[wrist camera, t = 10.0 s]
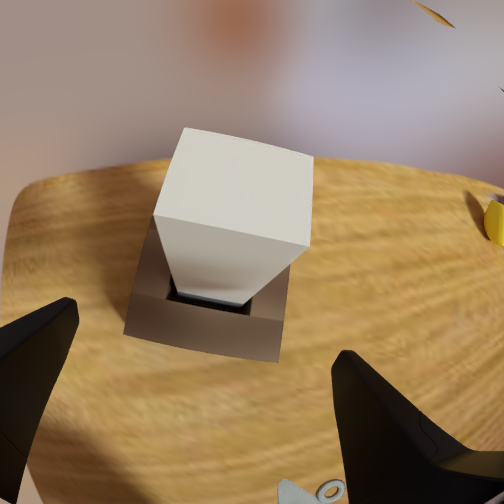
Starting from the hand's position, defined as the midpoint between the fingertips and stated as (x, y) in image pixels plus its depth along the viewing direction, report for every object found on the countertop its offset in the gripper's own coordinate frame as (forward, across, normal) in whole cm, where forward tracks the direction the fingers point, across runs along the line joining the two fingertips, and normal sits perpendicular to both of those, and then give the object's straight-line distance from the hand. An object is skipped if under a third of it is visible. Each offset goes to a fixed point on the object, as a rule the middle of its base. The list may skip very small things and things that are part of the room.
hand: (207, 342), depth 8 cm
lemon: (+21, -38, -5) cm, 43 cm away
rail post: (+11, 0, +5) cm, 12 cm away
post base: (+11, 0, +5) cm, 12 cm away
